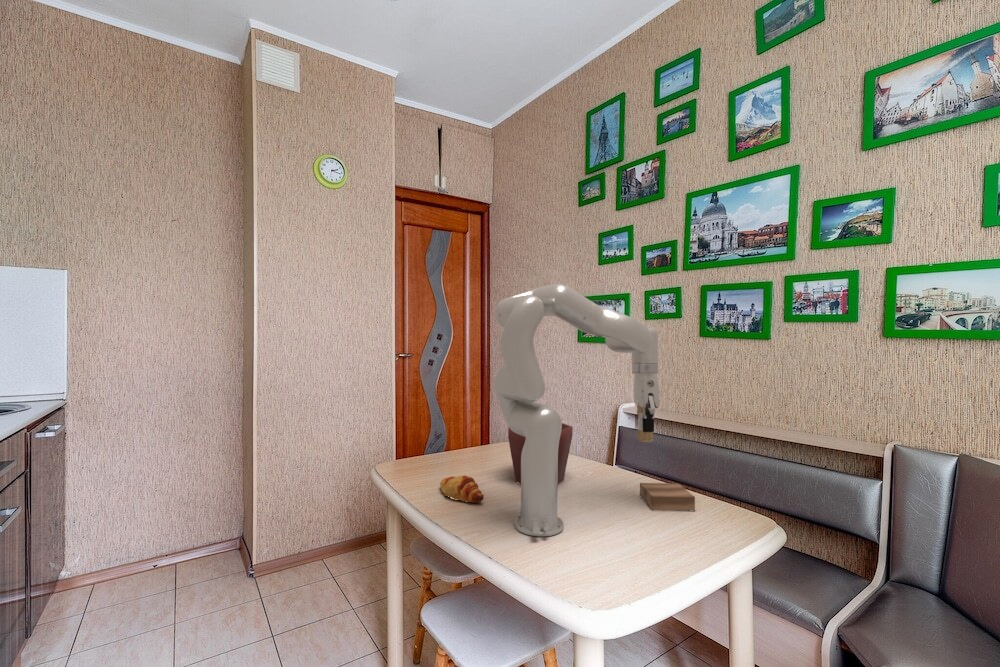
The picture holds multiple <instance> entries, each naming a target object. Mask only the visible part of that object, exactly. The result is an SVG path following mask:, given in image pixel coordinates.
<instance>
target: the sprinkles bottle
mask: <svg viewBox="0 0 1000 667" xmlns="http://www.w3.org/2000/svg"><path fill="white" fill-rule="evenodd" d="M637 402H638V399H637ZM645 408H649V406H646V407H645ZM646 413H647V410H646ZM642 418H644V415H643V408H642V407H640V406H639V404H638V428H637V440H638V441H639V442H644V443H651V442H653V441H654V432H643V421H642Z"/></svg>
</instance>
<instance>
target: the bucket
mask: <svg viewBox="0 0 1000 667" xmlns="http://www.w3.org/2000/svg"><path fill="white" fill-rule="evenodd" d="M507 427H508V426H507ZM573 428H574V427H573V426H572V425H569V424H567V423H563V422H562V429H561V435H560V440H559V447H558V485H560V483H562V482H564V479H565V474H566V469H567V464H568V459H569V455H570V449H571V444H572V439H573V434H574V433H573ZM507 429H508V431H507V432H508V433H507V434H508V435H507V436H508V437H507V438H508V444H509V449H510V456H511V462H512V468H513V472H514V479H515V483H516V482H519V483H521V454H522V449H523V446H524V444H525V440H526V437H524V436H521V435H519V434H517V433H515V432H513V431H512V430H511V429H510V428H509V427H508V428H507ZM519 483H518V484H519Z"/></svg>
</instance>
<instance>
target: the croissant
mask: <svg viewBox="0 0 1000 667" xmlns="http://www.w3.org/2000/svg"><path fill="white" fill-rule="evenodd" d="M439 484H440V490H441V492H443V493H444V494H445V495H444V494H443V493H442V494H443V495H444V497H445V496H449V497H452V498H454V499H457V501H458V500H462V501H461V502H464V501H467V502H466V503H468V502H472V503H473V504H477V503H479V502H481V501H483V500H484V498H485V497H484V496H485V494H483V493H482V490H480V489H479V485H478V483H477V482H476V481H475V479H474V478H473V477H472V476H470V475H466V474H464V475H458V476H449V477H445V478H443V479H442V480H441V481H440V483H439ZM476 502H477V503H476ZM472 503H471V504H472Z"/></svg>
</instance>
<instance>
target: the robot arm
mask: <svg viewBox="0 0 1000 667" xmlns="http://www.w3.org/2000/svg"><path fill="white" fill-rule="evenodd" d="M552 316H553V317H556V318H558V319H560V320H562V321H563V322H565V323H566V324H569V326H572V327H574V328H575V329H577V330H579V331H580V332H583V333H586V334H589V335H592V336H598V337H605V339H604V340H605V345H606V346H607V348H609V349H610V350H611V351H612V352H614V353H623V354H624V353H627V354H628V353H629V354H630V353H631V374H632V375H634V378H633V402H634V404H635V405H636V414H637V416H636V428H637V429H638V404H639V406H640V407H642V408H643V415H644V418H642V421H643V432H653V433H654V432H655V412H656V409H659V408H660V406H661V404H660V403H661V402H660V388H659V378H658V375H659V335H658V334H659V332H658V330H657V329H656V328H654V327H648V326H646V325H644V324H643V323H642V322H640V321H639V320H637V319H635V318H633V317H631V316H629V315H626V314H624V313H622V312H618V311H615V310H613V309H610V308H608V307H604V306H601V305H599V304H597V303H595V302H594V301H592V300H590V299H589V298H587V297H586V296H584V295H582V294H581V293H579V292H578V291H576V290H574V289H573V288H571V287H570V286H568V285H566V284H563V283H562V284H561V283H555V284H554V283H553V284H549V285H544V286H540V287H536V288H533V289H530V290H527V291H524V292H522V293H519V294H516V295H512V296H509V297H506V298H503V299H502V300H500V301H499V302H498V303H497V304H496V306H495V309H494V318H495V321H496V323H497V324H498V325H499V326H500V327H501V328H503V329H502V331H501V335H500V340H499V347H500V348H499V349H500V350H499V351H500V354H501V357H502V358H501V359H502V362H503V366H501V367H500V368H499V369H498V370H497V372H496V374H495V377H494V390H495V393H496V396H497V400H498V403H499V406H500V409H501V412H502V415H503V418H504V420H505V423H506V425H507V427H509V428H510V429H511V430H512V431H513V432H515V433H517V434H519V435H521V436H524V437H526V440H525V444H524V446H523V449H522V454H521V484H520V515H519V516H517V517H516V518H515V520H514V527H515V529H516V530H517V531H518V532H520V533H522V534H525V535H527V536H532V537H551V536H554V535H558V534H559V533H561V532H562V531H563V530H564V527H565V524H564V521H563V520H562V519H561V517H559V516H558V500H559V499H558V498H559V497H558V495H559V494H558V492H559V491H558V488H559V487H558V486H559V484H558V447H559V440H560V435H561V429H562V423H563V422H562V418H561V415H560V413H559V412H558V411H557V410H556V409H555V408H553V407H552V406H550V405H547V404H543V403H540V402H537V401H539V400H541V398H543V396H544V394H545V392H546V385H545V379H544V377H543V374H542V373H543V372H542V371H541V366H540V364H539V361H538V357H537V354H536V351H535V346H534V341H535V339H534V338H535V335H536V331H537V329H538V327H539V326H540V324H541V323H542V321H543V319H544V317H552ZM637 399H638V402H637ZM646 406H649V408H645V407H646ZM646 410H647V413H646Z"/></svg>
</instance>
